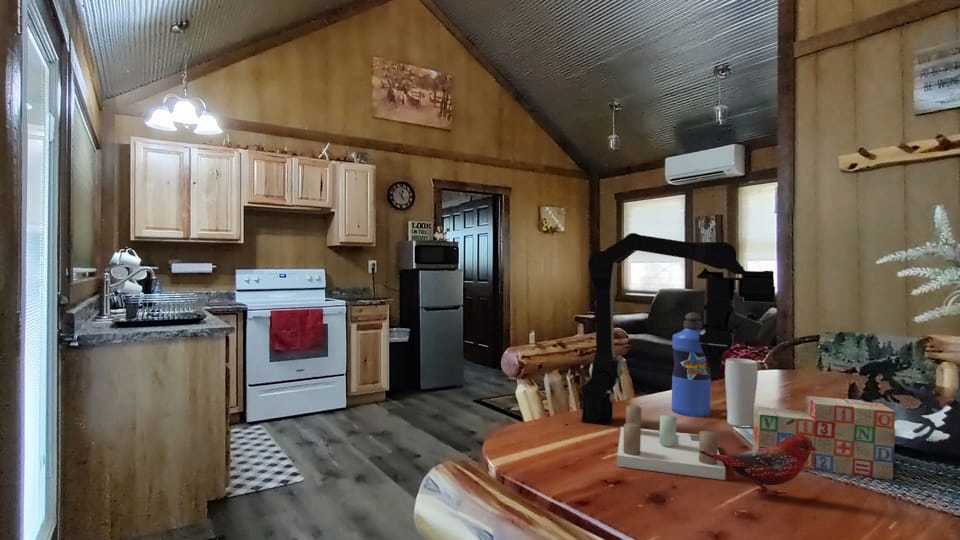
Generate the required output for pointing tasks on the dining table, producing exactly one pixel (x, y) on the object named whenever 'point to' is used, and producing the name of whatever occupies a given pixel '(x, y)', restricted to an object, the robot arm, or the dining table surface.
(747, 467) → the decorative bird figurine
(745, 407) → the drinking glass
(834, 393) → the dining table surface
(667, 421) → the hinged leg
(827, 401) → the stack of blocks
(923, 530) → the dining table surface
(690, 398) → the water bottle
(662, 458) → the stool seat
